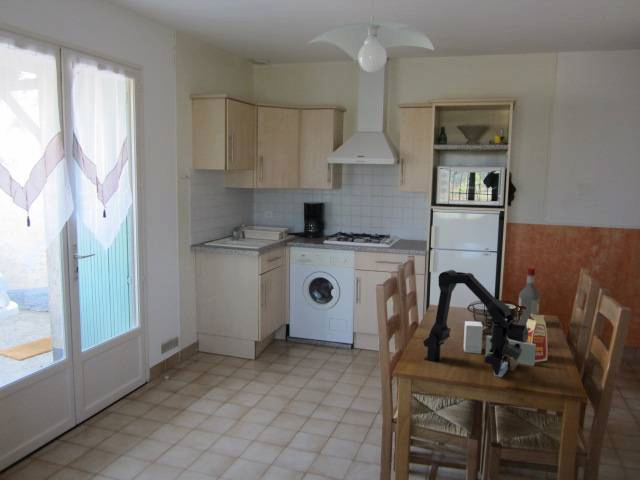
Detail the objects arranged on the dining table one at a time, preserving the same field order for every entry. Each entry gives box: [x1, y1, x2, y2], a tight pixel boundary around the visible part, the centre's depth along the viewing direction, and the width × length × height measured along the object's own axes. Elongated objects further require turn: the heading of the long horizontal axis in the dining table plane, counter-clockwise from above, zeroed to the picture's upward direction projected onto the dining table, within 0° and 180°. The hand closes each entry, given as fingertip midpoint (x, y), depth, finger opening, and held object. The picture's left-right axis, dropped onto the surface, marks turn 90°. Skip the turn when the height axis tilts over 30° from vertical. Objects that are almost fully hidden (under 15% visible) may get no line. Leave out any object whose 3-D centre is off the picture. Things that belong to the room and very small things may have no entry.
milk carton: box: [526, 314, 548, 363], centre depth 226 cm, size 9×9×20 cm
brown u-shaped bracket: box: [504, 354, 518, 372], centre depth 218 cm, size 7×8×5 cm
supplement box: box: [463, 320, 484, 354], centre depth 235 cm, size 7×7×13 cm
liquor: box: [517, 267, 541, 325], centre depth 274 cm, size 9×9×30 cm
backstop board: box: [484, 335, 536, 367], centre depth 224 cm, size 2×20×9 cm, turn 58°
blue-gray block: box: [493, 362, 509, 378], centre depth 211 cm, size 9×3×3 cm, turn 147°
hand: (497, 374), depth 206 cm, fingers closed
